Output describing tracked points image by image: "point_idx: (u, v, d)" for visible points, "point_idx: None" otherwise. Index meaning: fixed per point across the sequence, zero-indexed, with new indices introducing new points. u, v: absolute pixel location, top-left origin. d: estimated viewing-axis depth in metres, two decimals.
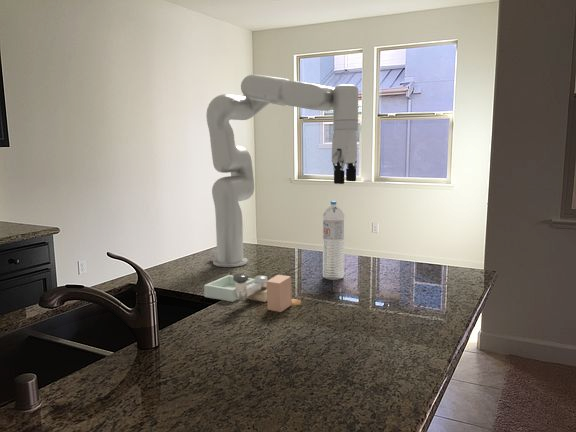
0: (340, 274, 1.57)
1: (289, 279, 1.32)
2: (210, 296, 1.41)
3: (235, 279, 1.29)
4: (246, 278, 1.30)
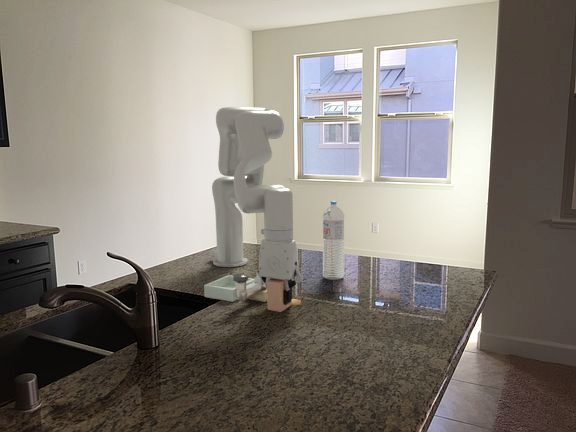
0: (340, 274, 1.57)
1: None
2: (210, 296, 1.41)
3: (235, 279, 1.29)
4: (246, 278, 1.30)
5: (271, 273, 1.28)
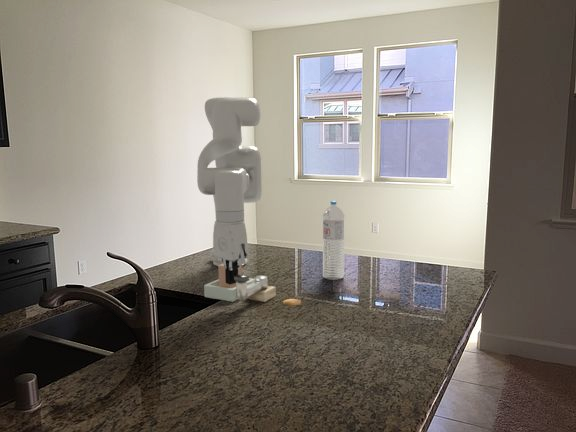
0: (340, 274, 1.57)
1: None
2: (210, 296, 1.41)
3: (236, 279, 1.29)
4: (247, 278, 1.30)
5: (221, 253, 1.31)
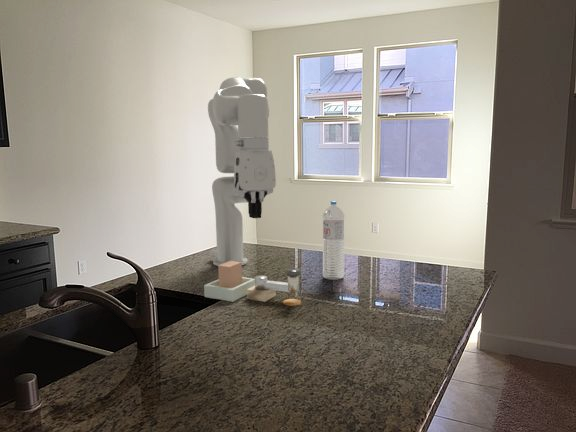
0: (340, 274, 1.57)
1: (240, 264, 1.44)
2: (210, 296, 1.41)
3: (299, 273, 1.34)
4: None
5: (258, 185, 1.22)
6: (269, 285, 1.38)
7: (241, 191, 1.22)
